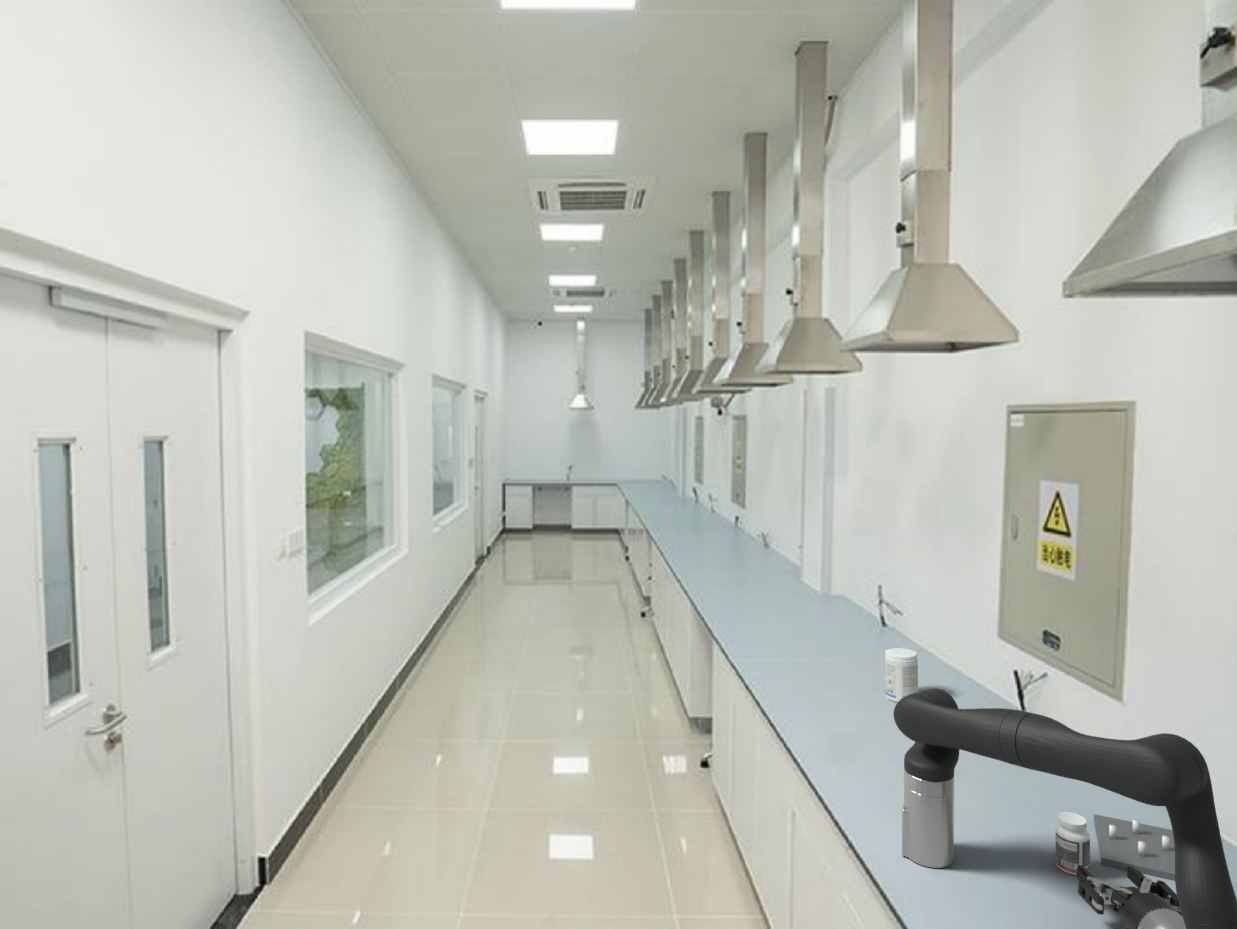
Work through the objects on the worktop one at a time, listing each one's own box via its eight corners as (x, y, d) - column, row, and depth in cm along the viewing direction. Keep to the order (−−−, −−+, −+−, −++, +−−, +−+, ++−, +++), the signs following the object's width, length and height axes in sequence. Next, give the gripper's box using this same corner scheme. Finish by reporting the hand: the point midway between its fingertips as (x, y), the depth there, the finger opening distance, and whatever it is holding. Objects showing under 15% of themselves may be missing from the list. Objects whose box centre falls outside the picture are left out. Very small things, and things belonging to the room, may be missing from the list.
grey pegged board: (1101, 863, 145) (1101, 845, 145) (1093, 819, 161) (1094, 802, 160) (1190, 883, 138) (1191, 864, 138) (1173, 835, 154) (1174, 818, 154)
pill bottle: (1077, 858, 147) (1078, 809, 146) (1096, 876, 141) (1097, 825, 140) (1048, 859, 147) (1049, 810, 146) (1067, 877, 141) (1067, 826, 140)
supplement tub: (918, 695, 234) (918, 649, 233) (917, 706, 225) (917, 658, 224) (885, 691, 238) (885, 646, 237) (883, 701, 229) (883, 655, 228)
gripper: (1212, 910, 116) (1146, 850, 132) (1117, 908, 117) (1063, 849, 133) (1211, 956, 117) (1145, 891, 133) (1116, 954, 118) (1062, 889, 134)
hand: (1104, 870), depth 133 cm, fingers open, 8 cm apart
